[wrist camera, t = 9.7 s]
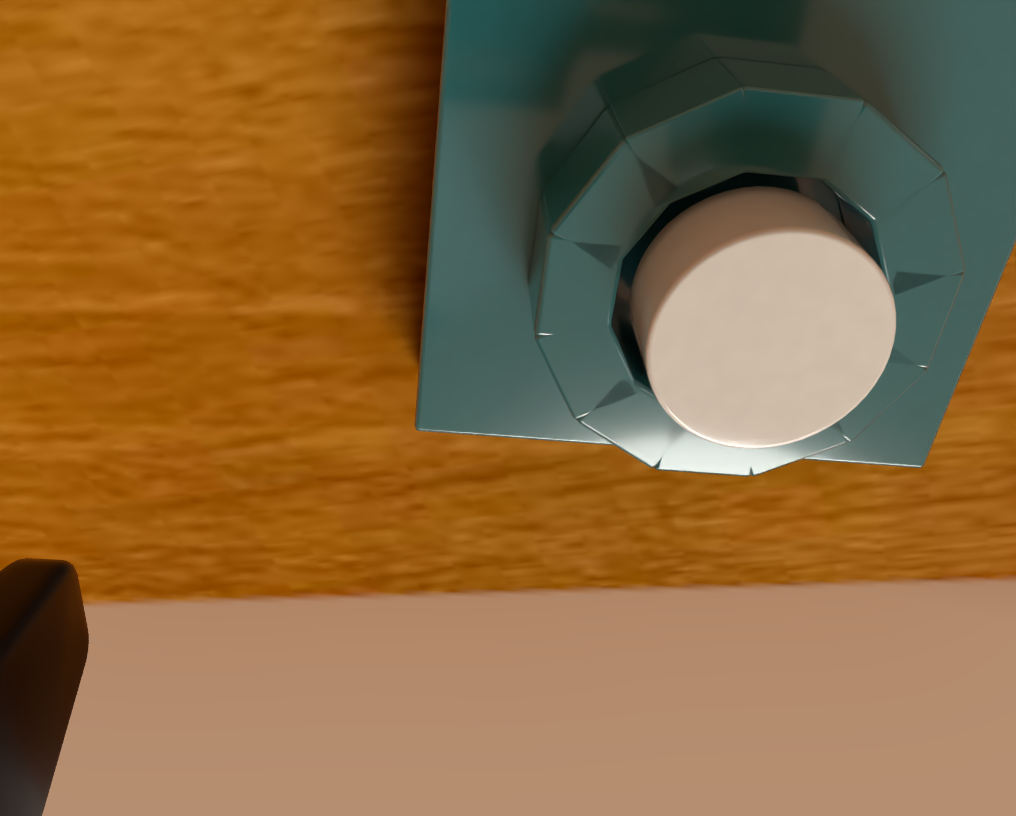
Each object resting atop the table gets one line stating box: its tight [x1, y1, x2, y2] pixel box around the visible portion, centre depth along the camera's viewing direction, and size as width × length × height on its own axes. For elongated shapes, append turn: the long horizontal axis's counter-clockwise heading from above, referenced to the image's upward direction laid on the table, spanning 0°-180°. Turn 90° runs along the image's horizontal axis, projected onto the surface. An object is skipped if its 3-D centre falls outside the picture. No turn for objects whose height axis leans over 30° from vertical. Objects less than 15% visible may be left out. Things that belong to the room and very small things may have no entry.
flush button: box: [630, 186, 896, 449], centre depth 15 cm, size 4×4×2 cm
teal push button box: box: [415, 0, 1016, 476], centre depth 16 cm, size 12×10×4 cm
